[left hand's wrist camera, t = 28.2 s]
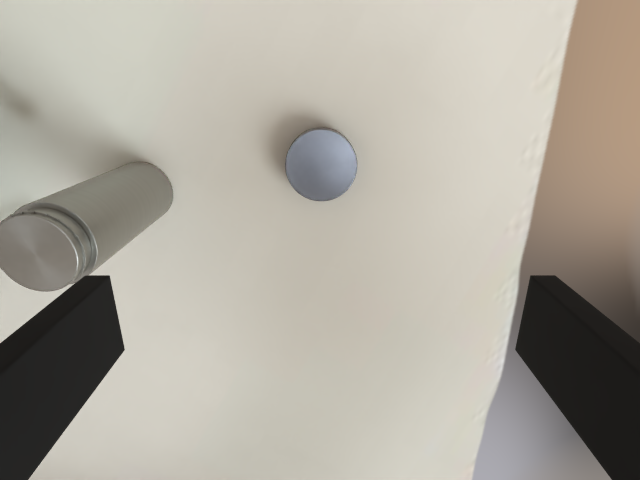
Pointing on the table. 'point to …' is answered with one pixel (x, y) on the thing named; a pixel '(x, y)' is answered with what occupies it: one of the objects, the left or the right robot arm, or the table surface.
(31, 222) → the jar
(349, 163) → the lid
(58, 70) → the table surface
